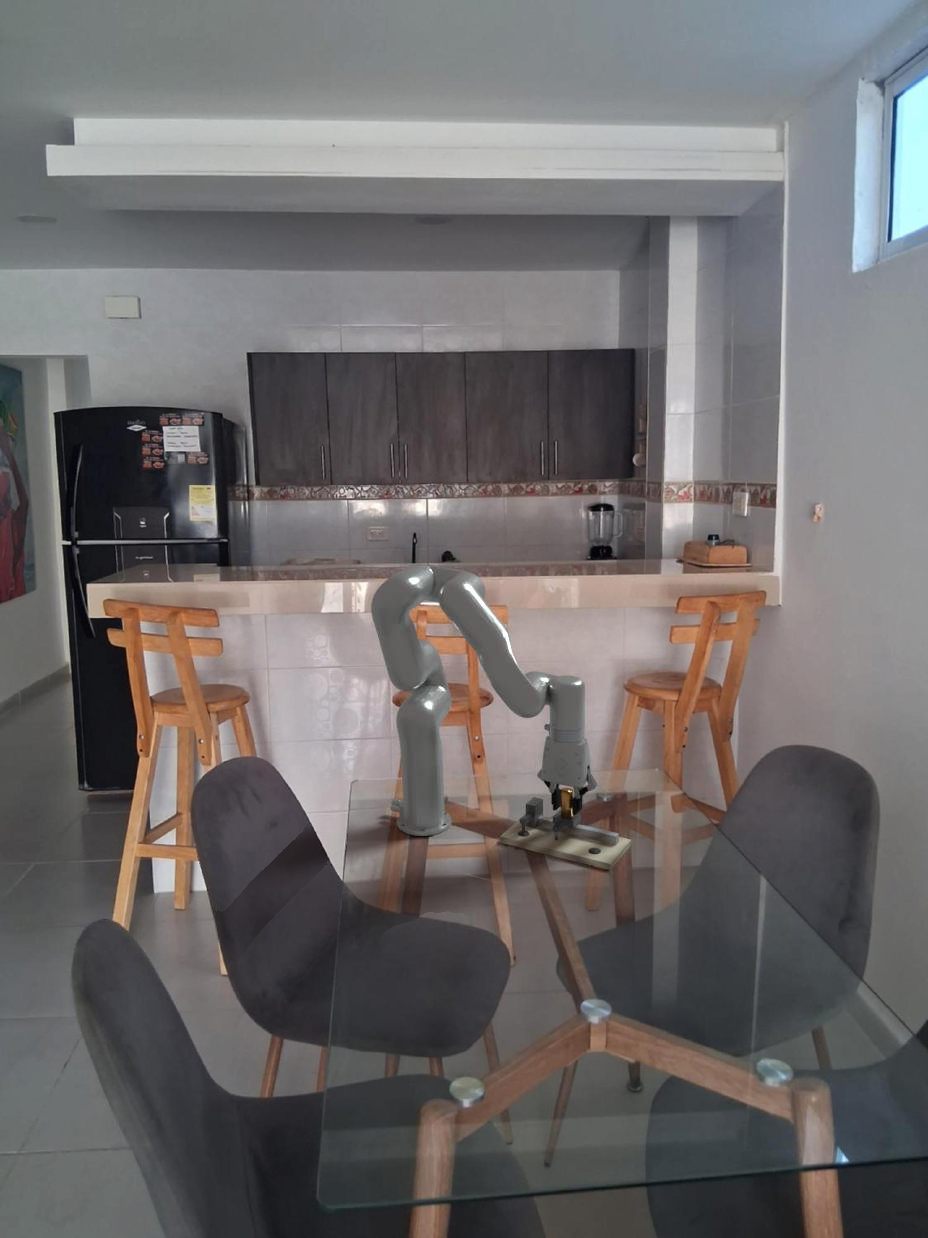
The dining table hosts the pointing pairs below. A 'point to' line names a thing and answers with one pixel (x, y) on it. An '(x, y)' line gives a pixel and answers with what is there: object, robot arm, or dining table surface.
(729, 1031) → the dining table surface
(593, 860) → the hole plate
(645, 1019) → the dining table surface
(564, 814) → the brass and grey piece
